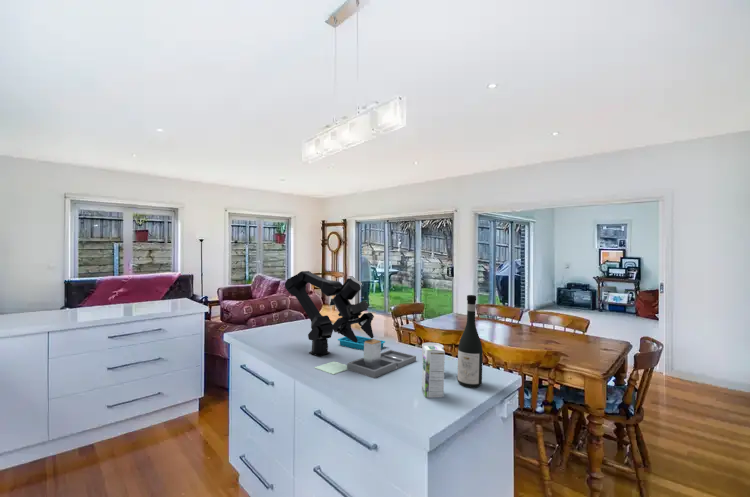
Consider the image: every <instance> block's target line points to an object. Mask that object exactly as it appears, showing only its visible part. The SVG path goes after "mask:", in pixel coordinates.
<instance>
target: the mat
mask: <svg viewBox="0 0 750 497" xmlns="http://www.w3.org/2000/svg"><path fill="white" fill-rule="evenodd" d="M313 369H316V370H318V371H320V372H324V373H326V374H330V375H337V374H340V373H343V372H346V371H349V370H348V369H347V364H344V363H340V362H337V361H331V362H328V363H324V364H321V365H318V366H315V367H314V368H313Z"/></svg>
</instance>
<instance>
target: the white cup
mask: <svg viewBox="0 0 750 497" xmlns="http://www.w3.org/2000/svg"><path fill="white" fill-rule="evenodd" d="M427 345H435V346H440V347H441V348H442V349H443V350H444V348H445V347H444V345H443V344H441V343H439V342H438V343H437V342H423V343H422V344H421V353H422V354H421V357H422V358H421V361H422V365H423V348H424V346H427Z"/></svg>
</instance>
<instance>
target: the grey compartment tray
mask: <svg viewBox="0 0 750 497" xmlns="http://www.w3.org/2000/svg"><path fill="white" fill-rule="evenodd" d="M384 355H389V356H393V357H396V358H400V359H403V361H397V360H394V359H390V358H386V357H384ZM414 362H417V355H413V354H410V353H409V354H408V353H404V352H402V351H397V350H393V349H389V350H386V351H382V352H381V361H380V368H378V369H376V370H372V369H369V368H366V367H364V357H360V358H359V359H355V360H353V361H349V362H347V364H346V365H347V369H348V370H347V371H351V372H354V373H358V374H360V375H363V376H366V377H369V378H373V379H376V378H378V377H381V376H383V375H386V374H388V373H391V372H392V371H394V370H397V369H401V368H402V367H404V366H405V367H406V366H407V365H409V364H412V363H414Z"/></svg>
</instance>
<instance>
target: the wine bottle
mask: <svg viewBox="0 0 750 497" xmlns="http://www.w3.org/2000/svg"><path fill="white" fill-rule="evenodd" d="M466 301H467V302H466V324H465V327H464V330H463V333H462V334H461V337H460V339H459V343H458V348H457V383H458V384H459V385H461V386H463V387H466V388H474V389H475V388H478V387H480V386H481V385H482V382H483V358H484V357H483V354H484V352H483V351H484V350H483V346H482V340H481V338H480V336H479V333H478V330H477V326H476V304H477V303H476V302H477V295H474V294H468V295H466Z"/></svg>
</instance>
